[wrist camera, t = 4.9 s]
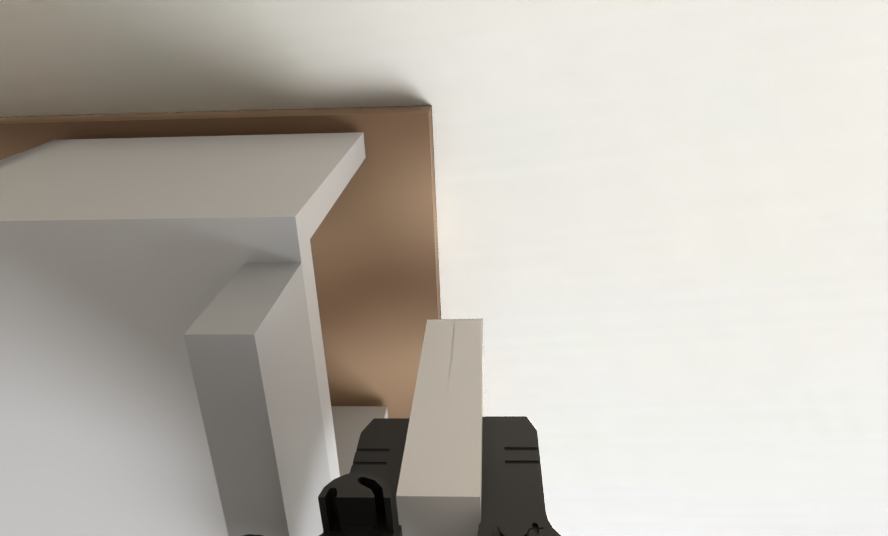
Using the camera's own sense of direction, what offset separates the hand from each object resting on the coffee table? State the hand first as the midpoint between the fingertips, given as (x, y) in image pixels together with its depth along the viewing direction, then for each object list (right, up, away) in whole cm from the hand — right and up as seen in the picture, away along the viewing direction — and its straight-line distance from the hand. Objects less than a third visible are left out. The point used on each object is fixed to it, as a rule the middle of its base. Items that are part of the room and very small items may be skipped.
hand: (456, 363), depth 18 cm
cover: (-8, +2, +5) cm, 9 cm away
